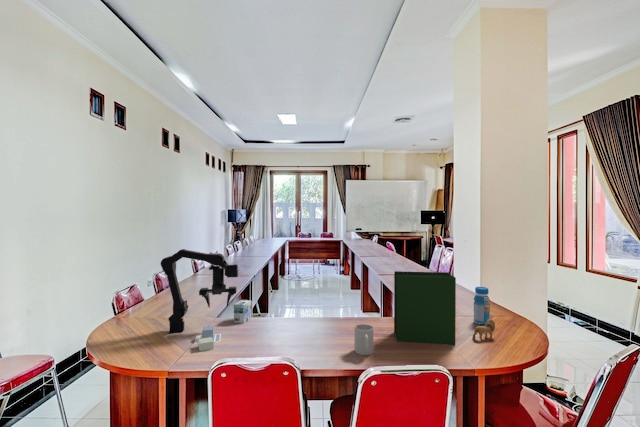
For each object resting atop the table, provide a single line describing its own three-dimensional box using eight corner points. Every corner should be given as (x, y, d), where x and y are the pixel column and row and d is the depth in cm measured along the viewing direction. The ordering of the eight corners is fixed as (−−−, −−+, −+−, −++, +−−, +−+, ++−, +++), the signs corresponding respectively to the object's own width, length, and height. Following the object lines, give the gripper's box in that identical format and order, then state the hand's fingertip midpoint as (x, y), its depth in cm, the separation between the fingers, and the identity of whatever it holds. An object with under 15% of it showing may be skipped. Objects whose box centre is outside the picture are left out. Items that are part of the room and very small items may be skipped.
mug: (353, 347, 156) (353, 324, 156) (371, 347, 156) (371, 323, 156) (357, 359, 144) (357, 333, 144) (376, 358, 144) (377, 333, 144)
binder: (396, 342, 162) (396, 276, 162) (393, 331, 177) (394, 270, 177) (455, 345, 159) (455, 277, 159) (447, 334, 174) (447, 272, 173)
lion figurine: (488, 334, 173) (488, 317, 173) (497, 338, 168) (498, 320, 168) (469, 340, 166) (469, 321, 166) (479, 343, 161) (479, 324, 161)
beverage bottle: (473, 324, 189) (474, 288, 189) (473, 319, 197) (473, 285, 197) (490, 326, 186) (490, 290, 186) (489, 321, 194) (489, 286, 194)
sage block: (199, 352, 150) (199, 343, 150) (198, 347, 156) (198, 338, 156) (213, 350, 153) (213, 341, 153) (211, 345, 158) (211, 337, 158)
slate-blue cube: (202, 340, 162) (202, 330, 162) (203, 337, 167) (203, 327, 167) (212, 340, 164) (213, 329, 164) (213, 336, 168) (213, 326, 168)
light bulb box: (244, 324, 188) (244, 304, 188) (233, 323, 189) (233, 304, 189) (252, 318, 198) (252, 300, 198) (241, 317, 200) (241, 299, 200)
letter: (193, 344, 159) (193, 343, 159) (196, 336, 169) (196, 335, 169) (220, 342, 162) (220, 341, 162) (221, 334, 172) (221, 333, 172)
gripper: (197, 281, 169) (197, 312, 169) (235, 280, 173) (235, 310, 173) (200, 277, 180) (200, 306, 180) (236, 275, 184) (236, 304, 184)
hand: (218, 306), depth 179 cm, fingers open, 9 cm apart
